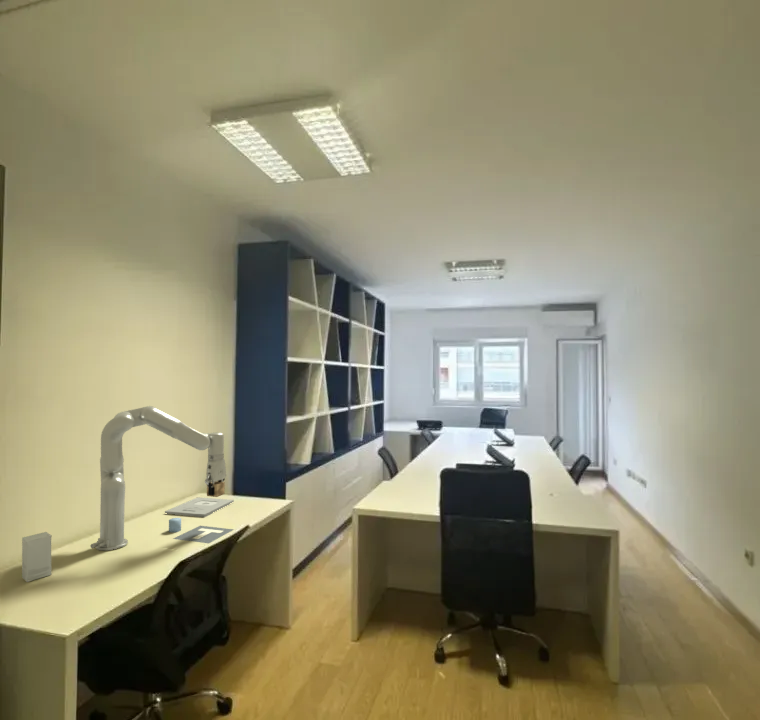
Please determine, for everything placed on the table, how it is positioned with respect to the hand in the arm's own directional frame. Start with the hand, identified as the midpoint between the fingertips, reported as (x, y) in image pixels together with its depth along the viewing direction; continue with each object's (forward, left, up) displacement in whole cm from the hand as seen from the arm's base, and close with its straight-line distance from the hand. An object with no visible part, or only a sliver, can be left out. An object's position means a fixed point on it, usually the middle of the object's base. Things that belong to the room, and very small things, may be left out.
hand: (215, 493), depth 237 cm
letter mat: (-9, 0, -18) cm, 20 cm away
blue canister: (-9, +17, -18) cm, 26 cm away
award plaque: (+29, +31, -19) cm, 46 cm away
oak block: (0, 0, -1) cm, 1 cm away
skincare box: (-67, +32, -18) cm, 76 cm away
